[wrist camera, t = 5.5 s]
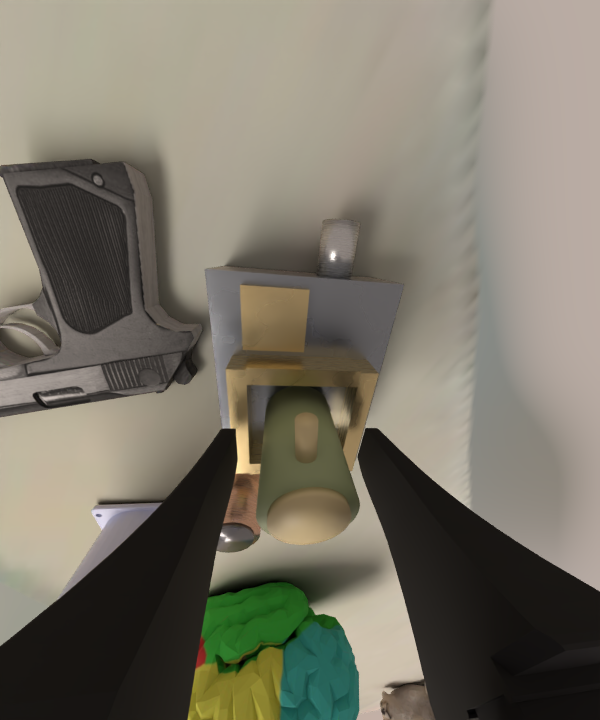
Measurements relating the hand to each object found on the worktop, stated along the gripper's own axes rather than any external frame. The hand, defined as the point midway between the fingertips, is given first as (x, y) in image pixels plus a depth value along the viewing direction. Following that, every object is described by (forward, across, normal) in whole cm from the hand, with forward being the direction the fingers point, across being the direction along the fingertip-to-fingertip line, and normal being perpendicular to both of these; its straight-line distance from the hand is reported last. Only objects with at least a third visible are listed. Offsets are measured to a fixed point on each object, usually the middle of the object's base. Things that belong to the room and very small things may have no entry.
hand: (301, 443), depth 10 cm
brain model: (+6, +1, +40) cm, 41 cm away
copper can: (+6, +4, +9) cm, 12 cm away
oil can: (+2, 0, 0) cm, 3 cm away
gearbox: (+6, 0, -3) cm, 7 cm away
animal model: (+6, -50, +126) cm, 136 cm away
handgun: (+7, +15, -4) cm, 17 cm away
